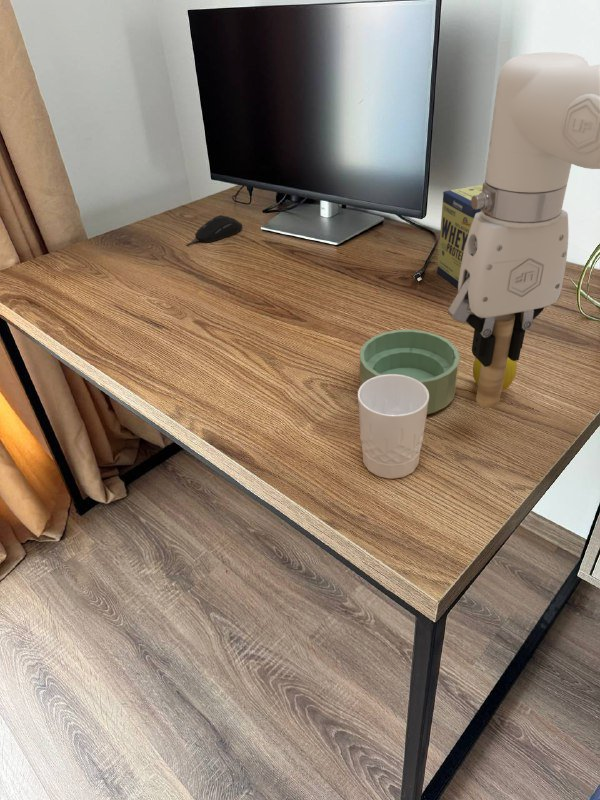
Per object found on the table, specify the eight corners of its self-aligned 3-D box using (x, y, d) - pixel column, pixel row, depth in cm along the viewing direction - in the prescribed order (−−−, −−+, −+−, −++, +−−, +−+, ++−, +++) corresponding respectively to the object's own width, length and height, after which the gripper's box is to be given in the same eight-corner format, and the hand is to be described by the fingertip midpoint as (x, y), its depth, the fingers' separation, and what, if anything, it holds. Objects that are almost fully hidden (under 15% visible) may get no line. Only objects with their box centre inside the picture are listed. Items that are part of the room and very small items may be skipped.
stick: (492, 392, 74) (506, 307, 66) (503, 405, 71) (520, 318, 64) (471, 396, 73) (484, 311, 66) (482, 409, 71) (497, 323, 64)
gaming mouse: (179, 242, 133) (176, 225, 130) (232, 224, 140) (230, 207, 138) (194, 249, 129) (191, 232, 126) (248, 230, 136) (246, 213, 134)
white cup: (428, 444, 73) (434, 379, 67) (417, 488, 67) (422, 421, 61) (366, 434, 75) (367, 369, 69) (350, 475, 69) (349, 409, 64)
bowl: (430, 357, 89) (433, 322, 85) (472, 408, 78) (477, 370, 75) (347, 374, 87) (347, 339, 83) (379, 428, 76) (380, 391, 73)
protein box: (435, 272, 112) (441, 190, 103) (505, 257, 116) (517, 176, 106) (465, 295, 104) (475, 208, 95) (539, 278, 108) (556, 192, 98)
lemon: (516, 387, 81) (526, 337, 77) (504, 409, 78) (513, 358, 73) (477, 377, 84) (484, 328, 79) (463, 397, 80) (470, 347, 75)
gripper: (463, 225, 53) (445, 388, 64) (620, 200, 56) (576, 361, 67) (428, 199, 59) (417, 353, 70) (572, 178, 62) (539, 330, 73)
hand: (495, 356), depth 68 cm, fingers closed on stick, 2 cm apart
